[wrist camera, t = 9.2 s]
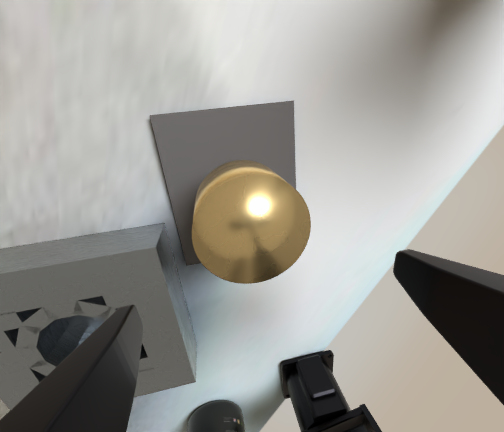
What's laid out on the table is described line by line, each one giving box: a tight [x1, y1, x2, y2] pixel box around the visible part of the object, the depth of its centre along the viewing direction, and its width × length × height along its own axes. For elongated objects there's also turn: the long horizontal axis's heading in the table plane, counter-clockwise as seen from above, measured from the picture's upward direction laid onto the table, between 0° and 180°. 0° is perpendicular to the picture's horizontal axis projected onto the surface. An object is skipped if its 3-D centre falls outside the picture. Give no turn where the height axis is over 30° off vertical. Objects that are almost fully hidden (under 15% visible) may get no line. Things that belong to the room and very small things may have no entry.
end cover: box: [192, 160, 311, 284], centre depth 15 cm, size 6×6×8 cm
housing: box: [0, 223, 197, 410], centre depth 20 cm, size 14×14×4 cm
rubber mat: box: [150, 101, 296, 265], centre depth 19 cm, size 12×10×1 cm
